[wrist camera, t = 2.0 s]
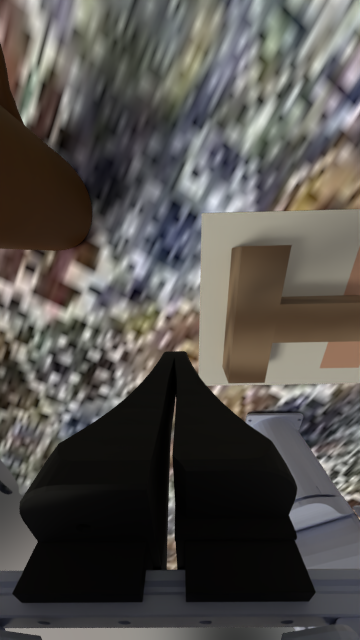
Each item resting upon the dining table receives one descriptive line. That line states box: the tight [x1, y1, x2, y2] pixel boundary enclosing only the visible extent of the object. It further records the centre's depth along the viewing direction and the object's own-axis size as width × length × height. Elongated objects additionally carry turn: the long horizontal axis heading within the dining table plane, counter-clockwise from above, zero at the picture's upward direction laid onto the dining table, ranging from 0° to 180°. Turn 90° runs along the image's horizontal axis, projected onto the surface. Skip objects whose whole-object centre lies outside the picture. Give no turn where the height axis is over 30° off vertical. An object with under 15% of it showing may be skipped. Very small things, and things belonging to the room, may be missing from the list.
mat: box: [199, 209, 360, 386], centre depth 19 cm, size 20×34×1 cm, turn 91°
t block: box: [222, 245, 360, 383], centre depth 17 cm, size 14×14×3 cm
